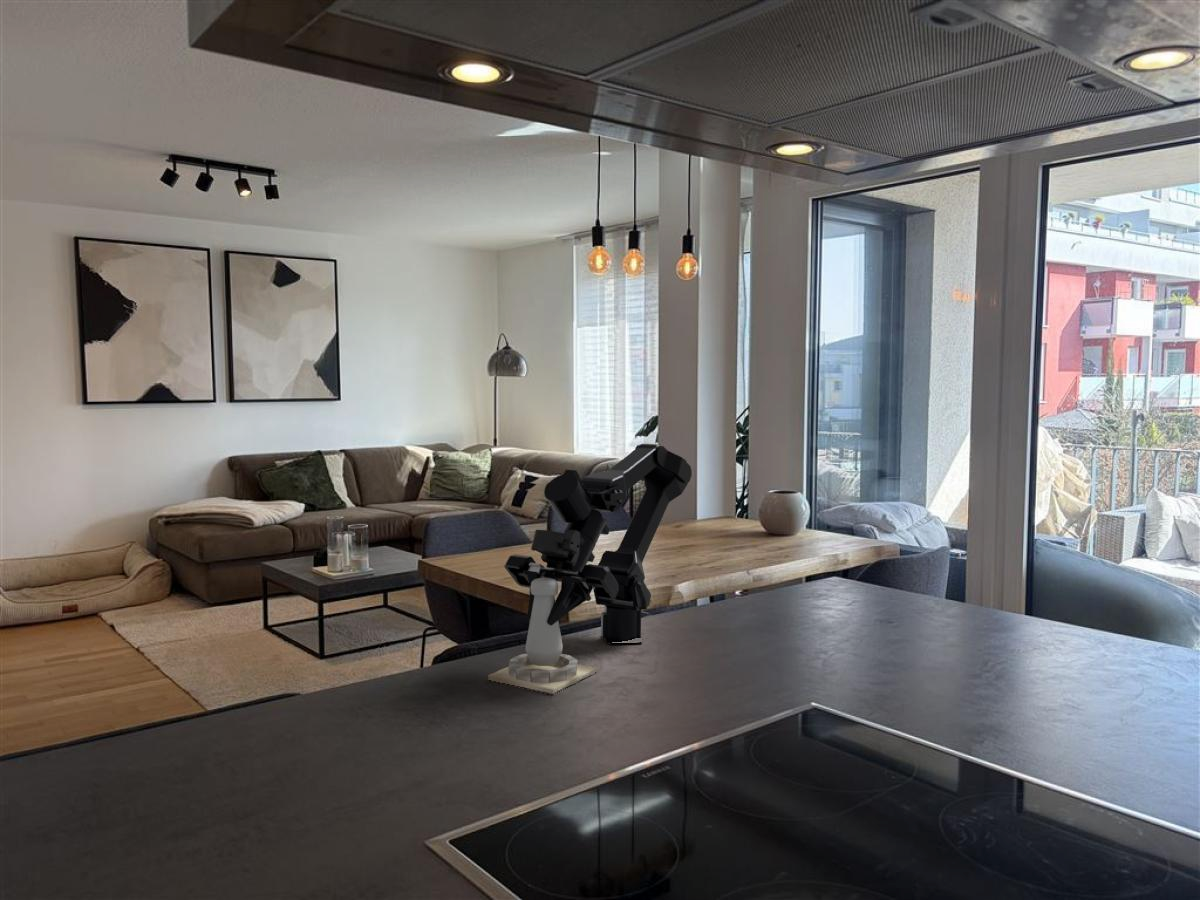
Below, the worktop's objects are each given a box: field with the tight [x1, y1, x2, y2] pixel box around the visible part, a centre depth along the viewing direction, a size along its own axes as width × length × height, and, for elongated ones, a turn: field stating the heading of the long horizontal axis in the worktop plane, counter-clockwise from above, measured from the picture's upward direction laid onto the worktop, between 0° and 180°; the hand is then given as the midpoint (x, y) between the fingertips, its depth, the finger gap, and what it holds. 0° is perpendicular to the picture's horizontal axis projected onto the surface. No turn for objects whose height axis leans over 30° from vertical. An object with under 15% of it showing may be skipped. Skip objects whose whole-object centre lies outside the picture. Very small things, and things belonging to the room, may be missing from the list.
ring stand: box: [487, 653, 598, 693], centre depth 135 cm, size 12×12×2 cm
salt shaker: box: [524, 578, 564, 666], centre depth 135 cm, size 6×6×13 cm
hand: (539, 622), depth 133 cm, fingers closed on salt shaker, 3 cm apart
